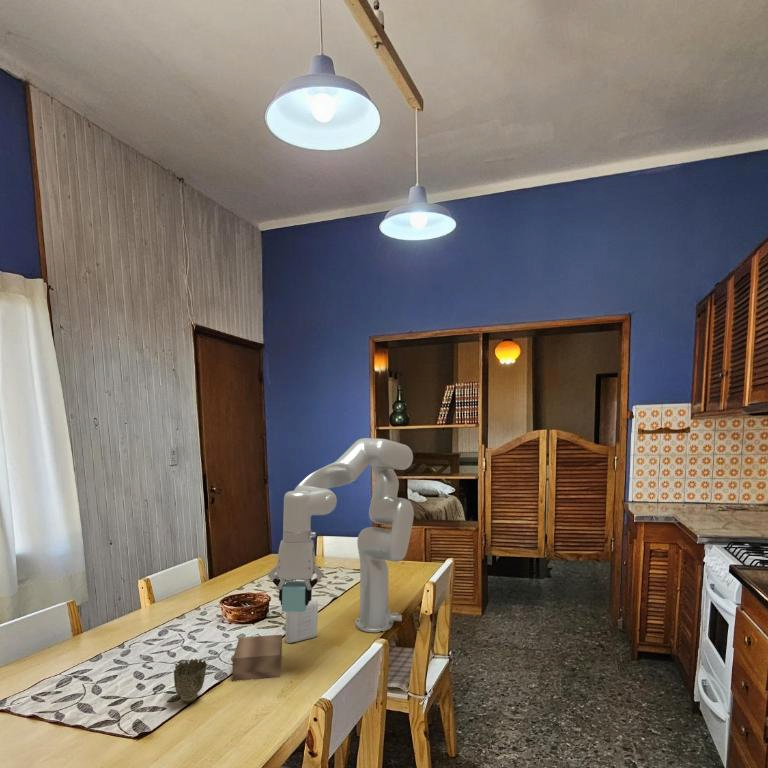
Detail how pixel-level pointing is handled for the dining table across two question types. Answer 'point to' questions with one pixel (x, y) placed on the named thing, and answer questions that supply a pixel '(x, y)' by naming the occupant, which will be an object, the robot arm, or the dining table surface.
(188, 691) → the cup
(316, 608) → the photo printer
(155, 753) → the dining table surface
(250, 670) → the walnut block
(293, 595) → the teal cube
